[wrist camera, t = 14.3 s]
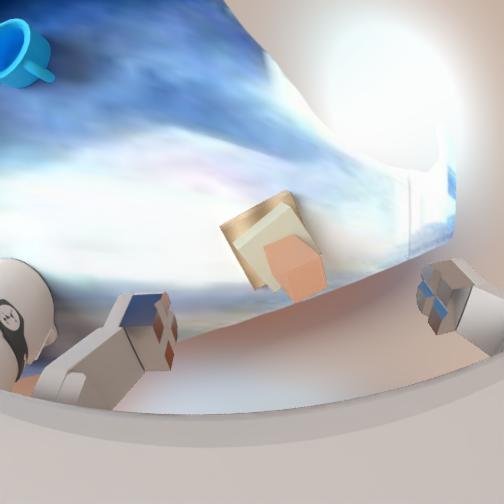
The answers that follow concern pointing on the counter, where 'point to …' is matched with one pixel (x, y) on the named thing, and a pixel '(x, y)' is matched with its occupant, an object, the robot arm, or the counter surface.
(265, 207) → the tower base
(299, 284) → the tall block
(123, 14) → the counter surface
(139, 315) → the robot arm
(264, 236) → the tower top
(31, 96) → the counter surface
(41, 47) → the mug
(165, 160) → the counter surface
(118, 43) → the counter surface
